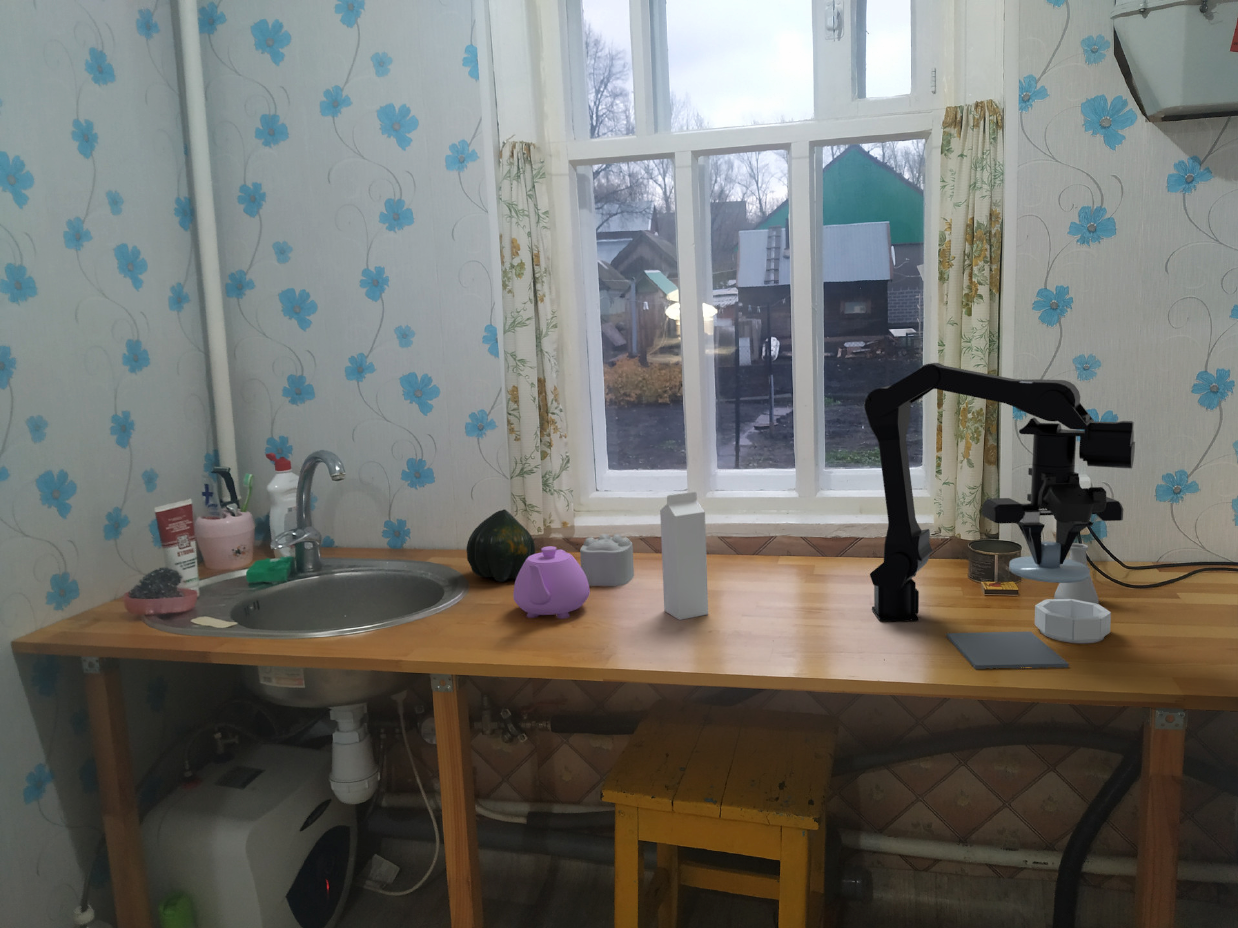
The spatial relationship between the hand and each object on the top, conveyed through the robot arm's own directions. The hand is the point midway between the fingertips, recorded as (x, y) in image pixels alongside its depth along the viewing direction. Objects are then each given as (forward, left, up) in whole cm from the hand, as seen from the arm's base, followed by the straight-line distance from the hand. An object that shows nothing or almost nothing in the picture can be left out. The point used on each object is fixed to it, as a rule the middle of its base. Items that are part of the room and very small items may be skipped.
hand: (1048, 563), depth 128 cm
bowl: (+5, +2, -12) cm, 13 cm away
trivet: (-8, -5, -12) cm, 15 cm away
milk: (-56, +16, -12) cm, 60 cm away
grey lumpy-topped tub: (-72, +40, -13) cm, 84 cm away
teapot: (-81, +18, -12) cm, 84 cm away
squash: (-96, +43, -12) cm, 105 cm away
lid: (0, 0, -1) cm, 1 cm away
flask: (+13, +18, -12) cm, 26 cm away
